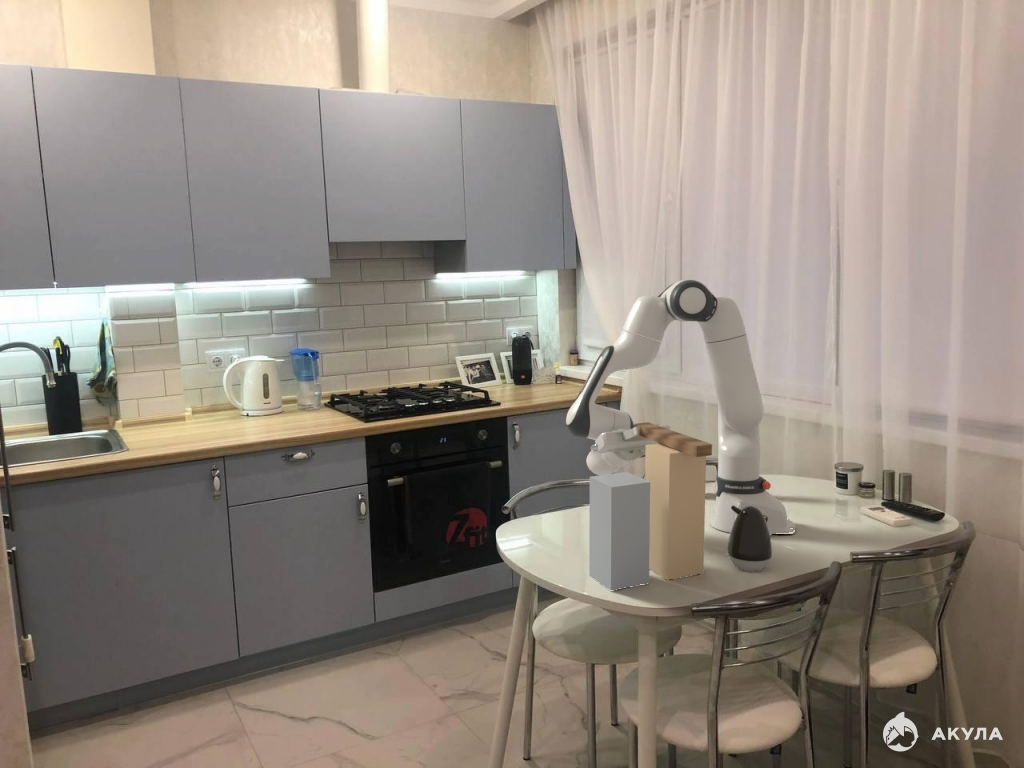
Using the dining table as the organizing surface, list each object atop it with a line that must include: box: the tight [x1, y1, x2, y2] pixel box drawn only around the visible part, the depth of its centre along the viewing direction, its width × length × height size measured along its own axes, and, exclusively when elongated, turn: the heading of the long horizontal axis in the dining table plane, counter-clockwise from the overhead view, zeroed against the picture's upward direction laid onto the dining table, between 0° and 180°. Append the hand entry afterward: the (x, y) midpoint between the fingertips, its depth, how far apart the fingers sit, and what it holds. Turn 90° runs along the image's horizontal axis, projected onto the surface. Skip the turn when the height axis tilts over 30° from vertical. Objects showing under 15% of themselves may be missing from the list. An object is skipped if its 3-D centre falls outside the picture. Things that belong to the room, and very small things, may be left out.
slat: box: [633, 421, 713, 457], centre depth 192 cm, size 26×4×2 cm, turn 23°
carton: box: [644, 443, 707, 581], centre depth 192 cm, size 10×10×30 cm
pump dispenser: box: [727, 505, 773, 573], centre depth 194 cm, size 10×10×15 cm
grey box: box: [588, 471, 650, 591], centre depth 187 cm, size 10×10×24 cm
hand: (648, 428), depth 200 cm, fingers closed on slat, 4 cm apart
